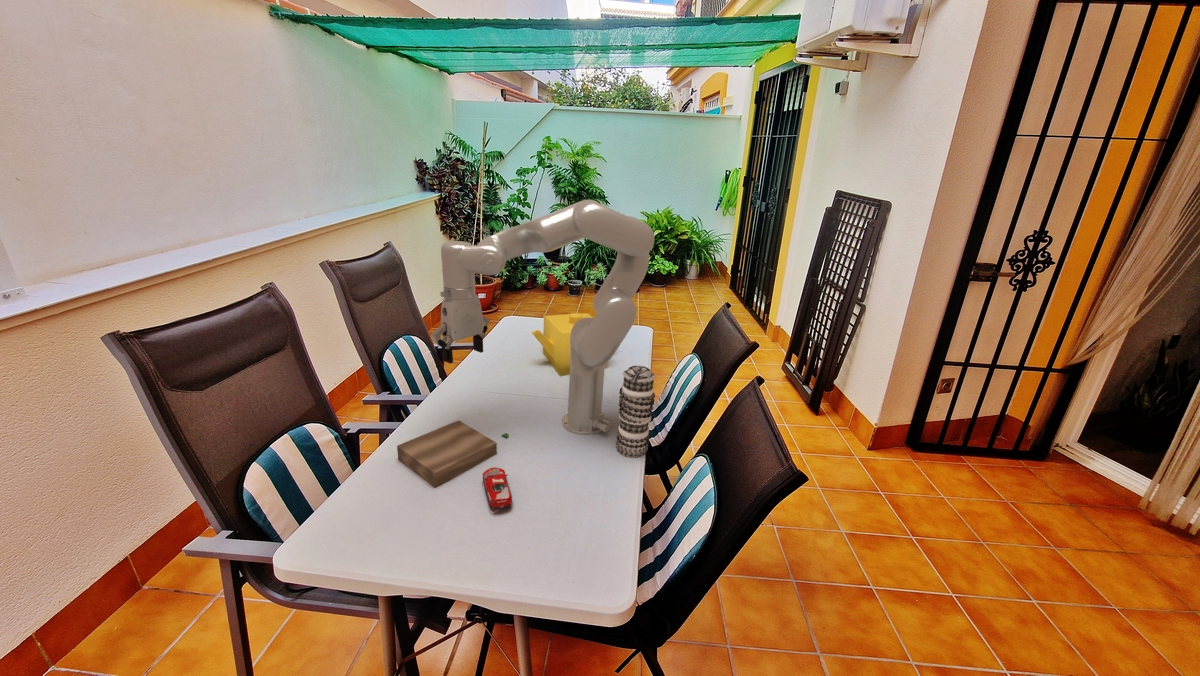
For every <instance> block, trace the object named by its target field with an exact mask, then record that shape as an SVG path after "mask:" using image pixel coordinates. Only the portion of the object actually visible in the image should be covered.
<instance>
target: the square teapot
mask: <svg viewBox="0 0 1200 676" xmlns="http://www.w3.org/2000/svg"><path fill="white" fill-rule="evenodd" d="M588 317H589V318H594V317H592V315H590V314H589V313H587V312H584V313H583V312H582V313H578V312H577V313H576V312H573V313H572V312H571V313H567V314H552V315H544V316H543V333H542V331H541V330H540V329H536V330H534V331H531V334H532V335H533V337H535V338H536V340H537V341H538V342H539V344H540V345H541V346H542V354H543V357H545V359H546V360H547V361H548V363H549V364H550V365H551V366H552V368H553V369H554V370H555V372H556V373H557V374H558V376H559V377H564V376H570V334H571V330H572V328H573V326H574V324H575V323H576V322H577V321H579V320H580V319H582V318H588ZM606 369H607V363H605V370H606Z"/></svg>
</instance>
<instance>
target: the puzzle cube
mask: <svg viewBox="0 0 1200 676" xmlns="http://www.w3.org/2000/svg"><path fill="white" fill-rule="evenodd" d="M501 437H502V438H504V439H509V438H510V434H508V432H504V433H503V434H501Z"/></svg>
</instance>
